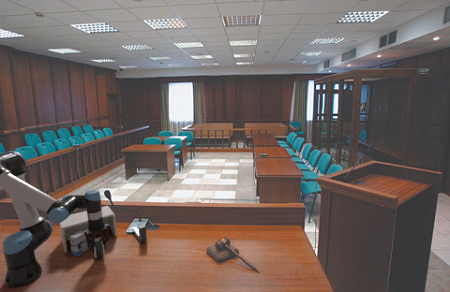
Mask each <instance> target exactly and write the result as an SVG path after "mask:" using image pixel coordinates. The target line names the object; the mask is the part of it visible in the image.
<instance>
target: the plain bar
mask: <svg viewBox="0 0 450 292" xmlns="http://www.w3.org/2000/svg"><path fill="white" fill-rule="evenodd" d="M137 227H138V228H137ZM132 229H133V230H134V232H135V234H134V235H135V237H136V238H137V239H138V241H139V243H140V244H141V245H144V244H146V243H148V240H147V239H148V238H147V228H146V225H145V224H141V225H138V226H133V227H131V230H132Z"/></svg>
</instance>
